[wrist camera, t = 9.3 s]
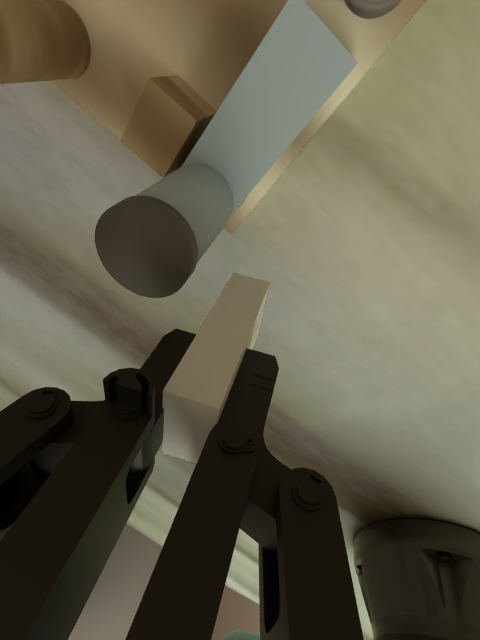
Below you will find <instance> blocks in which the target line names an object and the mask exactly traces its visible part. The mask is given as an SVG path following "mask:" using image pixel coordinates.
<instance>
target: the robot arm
mask: <svg viewBox="0 0 480 640" xmlns="http://www.w3.org/2000/svg"><path fill="white" fill-rule="evenodd" d="M269 285H270V282H266V281H262V280H258V279H255V278H251V277H247V276H243V275H239V274H236V273H233V275H232V276H231V278H230V280H229V281H228V283H227V285H226V286H225V288H224V290H223V291H222V293H221V295H220V296H219V298H218V300H217V301H216V303H215V305H214V306H213V308H212V310H211V311H210V313H209V315H208V316H207V318H206V320H205V321H204V323H203V325H202V326H201V328H200V330H199V331H198V333H197V335H196V334H193V333H189V332H186V331H182V330H179V329H175V330H173V331H171V332H170V333H168V334H166V335H165V336H164V337H163V338H162V339H161V341H160V342H159V344H158V345H157V347H156V348H155V349H154V351H153V352H152V353H151V356H150V357H149V358H148V359H147V360H146V362H145V363H144V364H143V366H142V367H141V369H135V368H125V369H119V370H117V371H114V372H112V373H110V374H109V375H108V376H106V377H105V378H104V379H103V384H104V392H105V400H103V401H94V402H93V401H71V400H70V396H69V395H68V394H67V393H66V392H65V391H64V390H61V389H59V388H54V387H45V388H40V389H36V390H33V391H31V392H29V393H27V394H25V395H24V396H22V397H21V398H19V399H18V400H16V401H15V402H13V403H12V404H11V405H9V406H8V407H6V408H5V409H3V410H2V411H0V640H68V638H69V636H70V634H71V632H72V630H73V628H74V626H75V624H76V622H77V620H78V618H79V616H80V614H81V612H82V610H83V608H84V606H85V604H86V602H87V600H88V598H89V596H90V594H91V592H92V590H93V588H94V586H95V584H96V582H97V580H98V578H99V576H100V574H101V572H102V570H103V568H104V566H105V564H106V562H107V560H108V558H109V556H110V554H111V552H112V550H113V548H114V546H115V544H116V542H117V540H118V538H119V536H120V534H121V532H122V530H123V528H124V526H125V524H126V522H127V520H128V518H129V516H130V514H131V512H132V510H133V508H134V506H135V504H136V502H137V500H138V498H139V497H140V495H141V493H142V491H143V489H144V487H145V485H146V483H147V481H148V479H149V477H150V475H151V473H152V471H153V467H154V463H155V455H156V453H157V451H158V449H159V447H160V445H161V443H162V451H161V452H162V453H165V454H168V455H171V456H174V457H177V458H180V459H183V460H186V461H189V462H192V463H195V464H196V467H195V469H194V471H193V474H192V476H191V479H190V481H189V484H188V486H187V489H186V491H185V494H184V496H183V499H182V501H181V504H180V506H179V509H178V511H177V514H176V516H175V518H174V521H173V523H172V526H171V528H170V531H169V533H168V536H167V538H166V541H165V543H164V546H163V548H162V551H161V553H160V556H159V558H158V560H157V563H156V566H155V568H154V571H153V573H152V575H151V578H150V580H149V583H148V585H147V588H146V590H145V593H144V595H143V598H142V601H141V603H140V605H139V608H138V610H137V612H136V615H135V617H134V620H133V622H132V625H131V627H130V630H129V632H128V635H127V637H126V640H211V637H212V634H213V630H214V626H215V622H216V618H217V614H218V610H219V606H220V602H221V598H222V594H223V590H224V586H225V582H226V578H227V574H228V571H229V567H230V563H231V559H232V555H233V551H234V547H235V543H236V539H237V535H238V531H239V528H240V529H242V530H243V531H244V532H245V533H246V534H248V535H249V536H250V537H251V538H252V539H254V540H255V541H256V542H257V543H259V597H260V634H256V633H252V632H248V631H243V630H234V631H232V632H229V633H228V634H227V635H225V636H224V637H223V638H222V639H221V640H364V639H363V634H362V629H361V624H360V619H359V613H358V608H357V603H356V598H355V593H354V588H353V583H352V577H351V572H350V567H349V562H348V557H347V552H346V547H345V541H344V536H343V531H342V526H341V521H340V516H339V511H338V505H337V500H336V496H335V494H334V491H333V488H332V486H331V485H330V484H329V482H328V481H327V480H326V479H325V477H323V476H322V475H320V474H319V473H317V472H316V471H314V470H311V469H307V468H295V469H293V470H291V469H290V468H288V467H287V466H285V465H284V464H282V463H281V462H280V461H278V460H277V459H276V458H275V457H274V456H272V454H271V453H270V452H269V450H268V449H267V447H266V445H265V443H264V438H263V430H264V425H265V421H266V417H267V413H268V409H269V406H270V402H271V398H272V394H273V390H274V386H275V382H276V378H277V374H278V370H279V368H278V364H277V361H276V357H275V356H272V355H268V354H265V353H261V352H258V351H255V350H253V347H254V344H255V342H256V339H257V336H258V332H259V328H260V324H261V319H262V315H263V311H264V306H265V302H266V298H267V293H268V289H269ZM354 566H355V570H356V573H357V575H358V578H359V583H360V587H361V591H362V594H363V598H364V601H365V605H366V609H367V612H368V616H369V619H370V623H371V626H372V631H373V640H480V534H479V533H477V532H475V531H472V530H469V529H466V528H463V527H460V526H456V525H453V524H448V523H444V522H438V521H431V520H421V519H396V520H387V521H382V522H378V523H374V524H372V525H369V526H367V527H365V528H363V529H362V530H361V531H359V532H358V534H357V535H356V537H355V539H354Z"/></svg>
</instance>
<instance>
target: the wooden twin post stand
mask: <svg viewBox="0 0 480 640" xmlns="http://www.w3.org/2000/svg"><path fill="white" fill-rule="evenodd" d="M304 1H305V3H306V4H307V5H308V6H309V7H310V8H311V9H312V11H313V12H314V13H315V14H316V15H317V16H318V17H319V19H320V20H321V21H322V22H323V23H324V24H325V25H326V26H327V28H328V29H329V30H330V31H331V32H332V33H333V34H334V36H335V37H336V38H337V39H338V40H339V41H340V42H341V44H342V45H343V46H344V47H345V48H346V49H347V50H348V52H349V53H350V54H351V55H352V56H353V57H354V58H355V59H356V61H357V62H358V64H357V65H356V66H355V67H354V68H353V70H352V71H351V72H350V73H349V74H348V76H347V77H346V78H345V79H344V80H343V82H342V83H341V84H340V85H339V86H338V88H337V89H336V90H335V91H334V92H333V94H332V95H331V96H330V97H329V98H328V100H327V101H326V102H325V103H324V104H323V106H322V107H321V108H320V109H319V110H318V112H317V113H316V114H315V115H314V116H313V118H312V119H311V120H310V121H309V122H308V124H307V125H306V126H305V127H304V128H303V130H302V131H301V132H300V133H299V134H298V136H297V137H296V138H295V139H294V140H293V142H292V143H291V144H290V145H289V146H288V148H287V149H286V150H285V151H284V152H283V154H282V155H281V156H280V157H279V158H278V160H277V161H276V162H275V163H274V164H273V166H272V167H271V168H270V169H269V170H268V172H267V173H266V174H265V175H264V176H263V178H262V179H261V180H260V181H259V182H258V184H257V185H256V186H255V187H254V188H253V190H252V191H251V192H250V193H249V194H248V196H247V197H246V199H245V201H244V202H243V203H242V205H241V206H240V207H239V209H238V210H237V211H236V212H235V214H234V215H233V216H232V218H231V219H230V220H229V222H228V223H227V224H226V225H225V227H224V228H225V229H226V230H227V231H229V232H230V233H231V234H233V232H234V231H235V230H236V229H237V228H238V226H239V225H240V224H241V223H242V222H243V220H244V219H245V218H246V217H247V216H248V214H249V213H250V212H251V211H252V210H253V208H254V207H255V206H256V205H257V204H258V202H259V201H260V200H261V199H262V198H263V196H264V195H265V194H266V193H267V191H268V190H269V189H270V188H271V187H272V185H273V184H274V183H275V182H276V181H277V179H278V178H279V177H280V176H281V175H282V173H283V172H284V171H285V170H286V169H287V167H288V166H289V165H290V164H291V163H292V161H293V160H294V159H295V158H296V157H297V155H298V154H299V153H300V152H301V151H302V149H303V148H304V147H305V146H306V145H307V143H308V142H309V141H310V140H311V139H312V137H313V136H314V135H315V134H316V132H317V131H318V130H319V129H320V128H321V126H322V125H323V124H324V123H325V122H326V120H327V119H328V118H329V117H330V116H331V114H332V113H333V112H334V111H335V110H336V108H337V107H338V106H339V105H340V104H341V102H342V101H343V100H344V99H345V98H346V96H347V95H348V94H349V93H350V92H351V90H352V89H353V88H354V87H355V86H356V84H357V83H358V82H359V81H360V80H361V78H362V77H363V76H364V75H365V74H366V72H367V71H368V70H369V69H370V67H371V66H372V65H373V64H374V63H375V61H376V60H377V59H378V58H379V57H380V55H381V54H382V53H383V52H384V51H385V49H386V48H387V47H388V46H389V45H390V43H391V42H392V41H393V40H394V39H395V37H396V36H397V35H398V34H399V33H400V31H401V30H402V29H403V28H404V27H405V25H406V24H407V23H408V22H409V21H410V19H411V18H412V17H413V16H414V15H415V13H416V12H417V11H418V10H419V8H420V7H421V6H422V5H423V4H424V2H425V1H426V0H304ZM287 2H288V0H0V84H6V83H20V82H34V81H49V80H51V81H52V82H53V83H54V84H55V85H56V86H58V87H59V88H60V89H61V90H62V91H64V92H65V93H66V94H67V95H68V96H69V97H71V98H72V99H73V100H74V101H75V102H77V103H78V104H79V105H80V106H81V107H82V108H84V109H85V110H86V111H87V112H88V113H90V114H91V115H92V116H93V117H94V118H95V119H97V120H98V121H99V122H100V123H101V124H102V125H104V126H105V127H106V128H107V129H108V130H110V131H111V132H112V133H113V134H114V135H115V136H117V137H118V138H119V139H120V140H121V142H122V143H123V144H124V145H125V146H126V147H128V148H129V149H130V150H131V151H132V152H134V153H135V154H136V155H137V156H138V157H139V158H141V159H142V160H143V161H144V162H145V163H147V164H148V165H149V166H150V167H151V168H152V169H154V170H155V171H156V172H157V173H158V174H160V175H161V176H162V177H163V178H164V177H167V176H168V175H170V174H171V173H173V172H175V171H176V170H178V169H179V168H181V166H182V165H183V163H184V162H185V160H186V159H187V157H188V156H189V154H190V152H191V151H192V149H193V148H194V146H195V145H196V143H197V142H198V140H199V138H200V137H201V135H202V134H203V132H204V131H205V129H206V128H207V126H208V124H209V123H210V121H211V120H212V118H213V117H214V115H215V114H216V112H217V110H218V109H219V107H220V106H221V104H222V103H223V101H224V100H225V98H226V96H227V95H228V93H229V92H230V90H231V89H232V87H233V86H234V84H235V82H236V81H237V79H238V78H239V76H240V75H241V73H242V72H243V70H244V68H245V67H246V65H247V64H248V62H249V61H250V59H251V58H252V56H253V54H254V53H255V51H256V50H257V48H258V47H259V45H260V44H261V42H262V40H263V39H264V37H265V36H266V34H267V33H268V31H269V30H270V28H271V26H272V25H273V23H274V22H275V20H276V19H277V17H278V16H279V14H280V12H281V11H282V9H283V8H284V6H285V5H286V3H287Z"/></svg>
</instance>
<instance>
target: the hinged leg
mask: <svg viewBox="0 0 480 640" xmlns="http://www.w3.org/2000/svg"><path fill="white" fill-rule="evenodd" d="M357 64H358V62H357V61H356V59H355V58H354V57H353V56H352V55H351V54H350V53H349V52H348V50H347V49H346V48H345V47H344V46H343V45H342V44H341V42H340V41H339V40H338V39H337V38H336V37H335V36H334V34H333V33H332V32H331V31H330V30H329V29H328V28H327V26H326V25H325V24H324V23H323V22H322V21H321V20H320V19H319V17H318V16H317V15H316V14H315V13H314V12H313V11H312V9H311V8H310V7H309V6H308V5H307V4H306V3H305V1H304V0H288V2H287V3H286V5H285V6H284V8H283V9H282V11H281V12H280V14H279V16H278V17H277V19H276V20H275V22H274V23H273V25H272V26H271V28H270V30H269V31H268V33H267V34H266V36H265V37H264V39H263V40H262V42H261V44H260V45H259V47H258V48H257V50H256V51H255V53H254V54H253V56H252V58H251V59H250V61H249V62H248V64H247V65H246V67H245V68H244V70H243V72H242V73H241V75H240V76H239V78H238V79H237V81H236V82H235V84H234V86H233V87H232V89H231V90H230V92H229V93H228V95H227V96H226V98H225V100H224V101H223V103H222V104H221V106H220V107H219V109H218V110H217V112H216V114H215V115H214V117H213V118H212V120H211V121H210V123H209V124H208V126H207V128H206V129H205V131H204V132H203V134H202V135H201V137H200V138H199V140H198V142H197V143H196V145H195V146H194V148H193V149H192V151H191V152H190V154H189V156H188V157H187V159H186V160H185V162H184V163H183V165H182V166H181V168H179V169H178V170H176V171H175V172H173V173H171V174H170V175H168V176H167V177H165V178H163V179H162V180H160V181H159V182H157V183H156V184H154V185H152V186H151V187H149V188H148V189H146V190H144V191H143V192H141V193H140V194H138V195H136V196H132V197H129V198H126V199H124V200H122V201H121V202H119V203H117V204H116V205H114V206H112V207H111V208H109V209H108V210H107V211H105V212H104V213H103V214H102V216H101V217H100V219H99V220H98V223H97V225H96V230H95V244H96V249H97V252H98V255H99V257H100V260H101V262H102V263H103V265H104V267H105V268H106V270H107V271H108V272H109V274H110V275H111V276H112V277H113V278H114V279H115V280H116V281H117V282H118V283H120V284H121V285H122V286H124V287H125V288H126V289H128V290H130V291H132V292H134V293H136V294H139V295H142V296H145V297H151V298H161V297H166V296H170V295H172V294H174V293H175V292H177V291H178V290H179V289H180V288H181V287H182V286H183V285H184V284H185V282H186V281H187V280H188V278H189V277H190V276H191V274H192V273H193V271H194V269H195V267H196V264H197V262H198V261H199V259H200V258H201V257H202V255H203V254H204V253H205V251H206V250H207V249H208V248H209V246H210V245H211V244H212V242H213V241H214V240H215V238H216V237H217V236H218V235H219V233H220V232H221V231H222V229H223V228H224V227H225V225H226V224H227V223H228V222H229V220H230V219H231V218H232V216H233V215H234V214H235V212H236V211H237V210H238V209H239V207H240V206H241V205H242V203H243V202H244V201H245V199H246V197H247V196H248V194H249V193H250V192H251V191H252V190H253V188H254V187H255V186H256V185H257V184H258V182H259V181H260V180H261V179H262V178H263V176H264V175H265V174H266V173H267V172H268V170H269V169H270V168H271V167H272V166H273V164H274V163H275V162H276V161H277V160H278V158H279V157H280V156H281V155H282V154H283V152H284V151H285V150H286V149H287V148H288V146H289V145H290V144H291V143H292V142H293V140H294V139H295V138H296V137H297V136H298V134H299V133H300V132H301V131H302V130H303V128H304V127H305V126H306V125H307V124H308V122H309V121H310V120H311V119H312V118H313V116H314V115H315V114H316V113H317V112H318V110H319V109H320V108H321V107H322V106H323V104H324V103H325V102H326V101H327V100H328V98H329V97H330V96H331V95H332V94H333V92H334V91H335V90H336V89H337V88H338V86H339V85H340V84H341V83H342V82H343V80H344V79H345V78H346V77H347V76H348V74H349V73H350V72H351V71H352V70H353V68H354V67H355V66H356V65H357Z"/></svg>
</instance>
